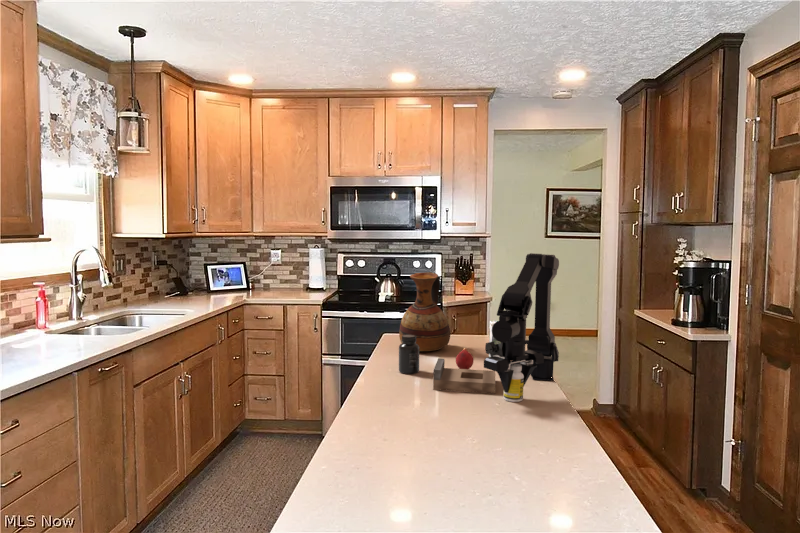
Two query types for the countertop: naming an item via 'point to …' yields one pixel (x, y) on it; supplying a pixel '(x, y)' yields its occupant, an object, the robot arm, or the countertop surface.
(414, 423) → the countertop surface
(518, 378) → the supplement bottle
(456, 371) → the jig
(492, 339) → the syrup box
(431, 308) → the brown ceramic vase
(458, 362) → the onion
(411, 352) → the supplement bottle
